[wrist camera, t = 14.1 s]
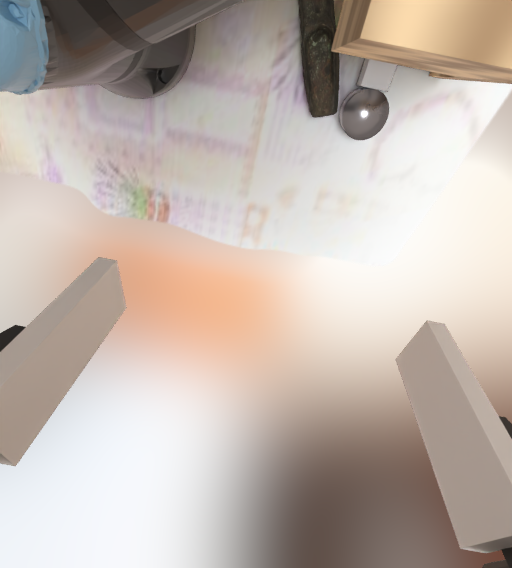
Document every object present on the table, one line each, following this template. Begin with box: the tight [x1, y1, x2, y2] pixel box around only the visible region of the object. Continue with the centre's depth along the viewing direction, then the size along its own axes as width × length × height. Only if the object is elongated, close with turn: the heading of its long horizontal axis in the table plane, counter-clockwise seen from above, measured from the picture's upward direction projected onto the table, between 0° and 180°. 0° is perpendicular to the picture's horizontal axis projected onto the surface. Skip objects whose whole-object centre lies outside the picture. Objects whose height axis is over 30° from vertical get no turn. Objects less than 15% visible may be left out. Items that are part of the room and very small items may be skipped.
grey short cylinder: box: [339, 87, 389, 140], centre depth 32 cm, size 5×5×3 cm
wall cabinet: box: [331, 0, 512, 84], centre depth 20 cm, size 14×7×22 cm, turn 81°
